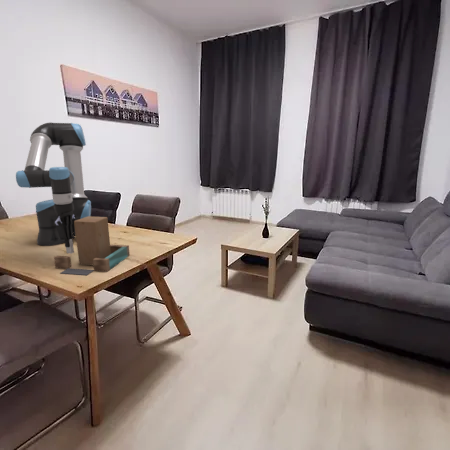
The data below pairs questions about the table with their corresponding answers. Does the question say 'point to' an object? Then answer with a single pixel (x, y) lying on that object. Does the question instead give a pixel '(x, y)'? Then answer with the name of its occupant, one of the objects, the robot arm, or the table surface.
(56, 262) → the brown u-shaped piece
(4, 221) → the table surface
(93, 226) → the wooden block
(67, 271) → the mat
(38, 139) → the robot arm
